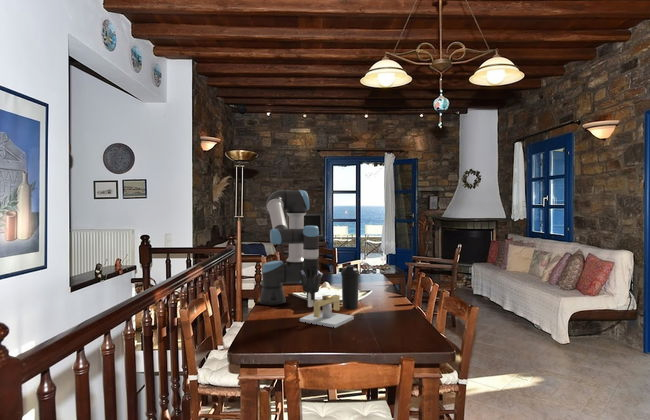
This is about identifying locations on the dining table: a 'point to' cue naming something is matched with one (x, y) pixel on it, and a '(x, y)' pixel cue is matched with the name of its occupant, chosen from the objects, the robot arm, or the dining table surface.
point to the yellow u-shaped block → (326, 300)
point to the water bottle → (350, 287)
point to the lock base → (327, 318)
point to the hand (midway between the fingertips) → (310, 306)
